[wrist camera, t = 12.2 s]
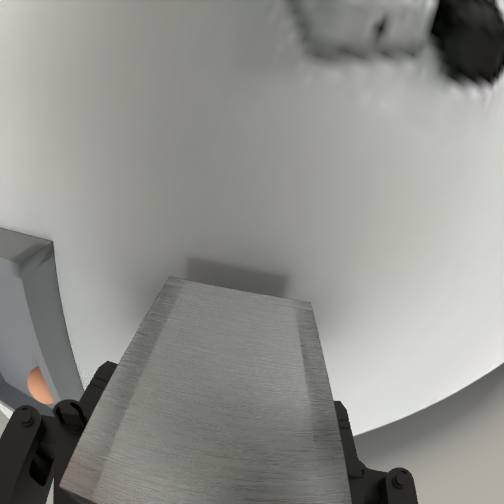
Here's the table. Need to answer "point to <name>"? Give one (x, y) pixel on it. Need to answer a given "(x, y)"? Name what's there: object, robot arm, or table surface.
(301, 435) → the u-shaped arch block
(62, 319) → the tray
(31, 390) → the mixing ball
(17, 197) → the table surface
